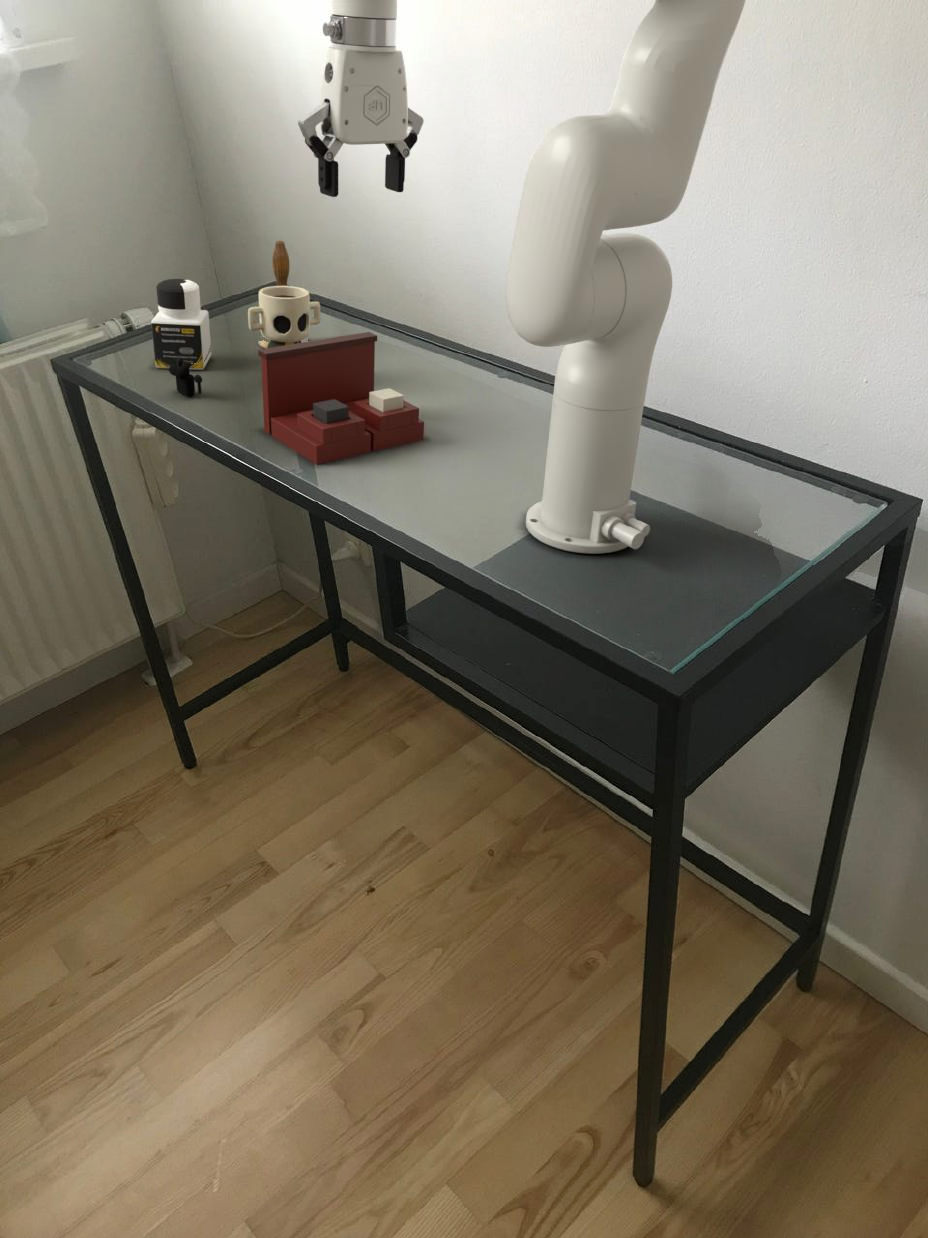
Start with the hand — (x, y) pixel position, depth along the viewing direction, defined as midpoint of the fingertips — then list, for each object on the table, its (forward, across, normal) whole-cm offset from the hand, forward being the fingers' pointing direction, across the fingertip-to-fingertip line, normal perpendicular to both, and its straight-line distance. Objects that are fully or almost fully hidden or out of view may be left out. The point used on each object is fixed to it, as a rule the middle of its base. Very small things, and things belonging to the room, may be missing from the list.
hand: (362, 192), depth 129 cm
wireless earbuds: (+29, -18, +17) cm, 38 cm away
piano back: (+28, -7, -1) cm, 29 cm away
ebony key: (+24, -11, -10) cm, 29 cm away
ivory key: (+24, -3, -10) cm, 26 cm away
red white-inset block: (+28, -3, -7) cm, 30 cm away
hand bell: (+29, +6, +32) cm, 43 cm away
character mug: (+29, -2, +16) cm, 33 cm away
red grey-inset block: (+28, -11, -7) cm, 31 cm away
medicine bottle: (+29, -12, +31) cm, 44 cm away
